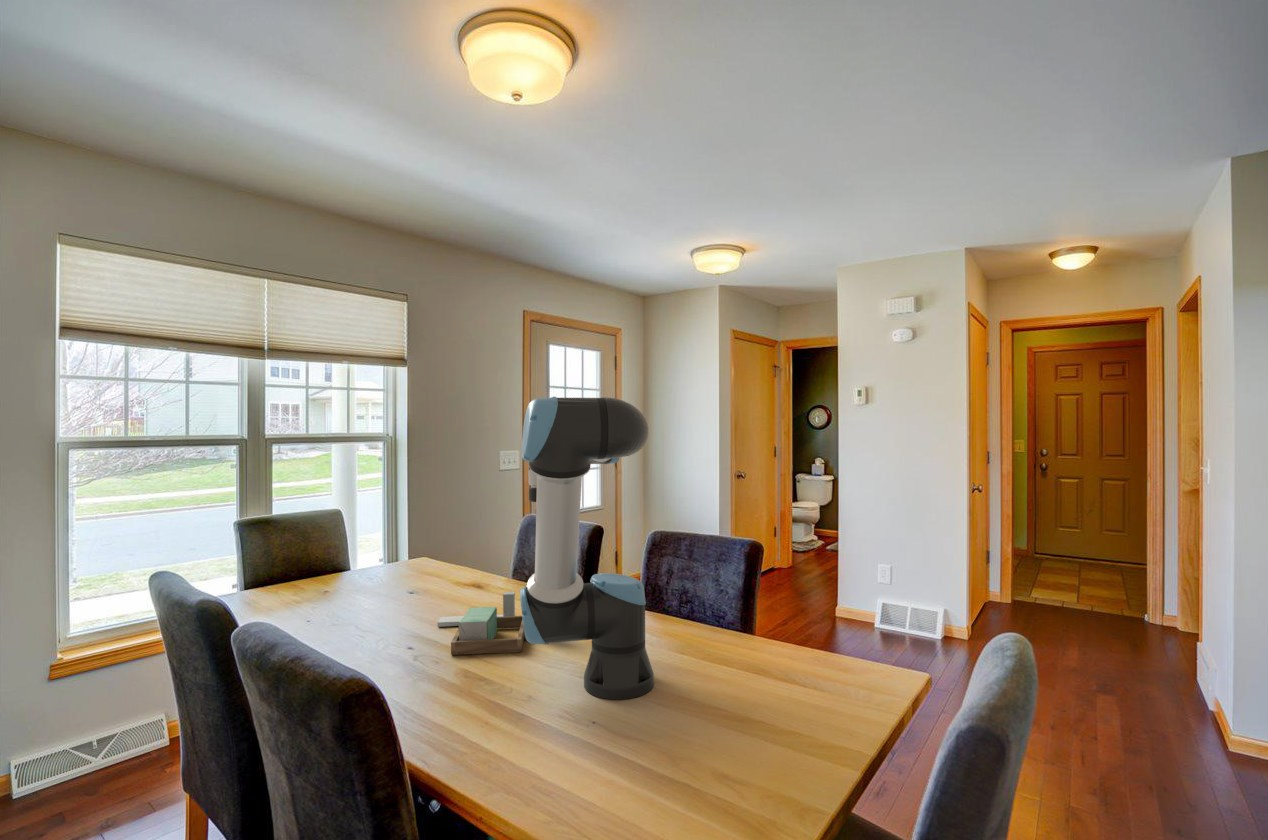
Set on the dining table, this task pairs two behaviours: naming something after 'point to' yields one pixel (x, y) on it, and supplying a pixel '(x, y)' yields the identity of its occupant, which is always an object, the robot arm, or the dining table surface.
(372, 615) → the dining table surface
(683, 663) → the dining table surface
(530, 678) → the dining table surface
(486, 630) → the box
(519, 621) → the walnut frame
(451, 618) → the grey l-shaped bracket
